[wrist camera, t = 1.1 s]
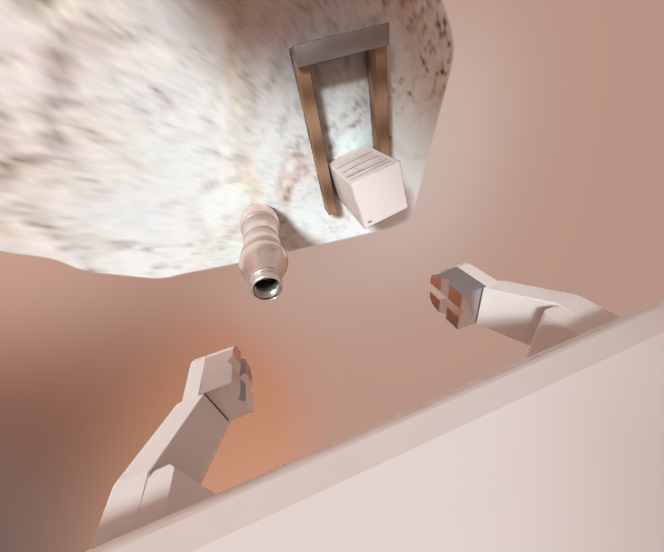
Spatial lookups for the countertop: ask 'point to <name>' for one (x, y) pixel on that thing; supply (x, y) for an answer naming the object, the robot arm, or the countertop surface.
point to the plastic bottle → (262, 252)
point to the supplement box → (369, 184)
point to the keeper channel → (375, 48)
